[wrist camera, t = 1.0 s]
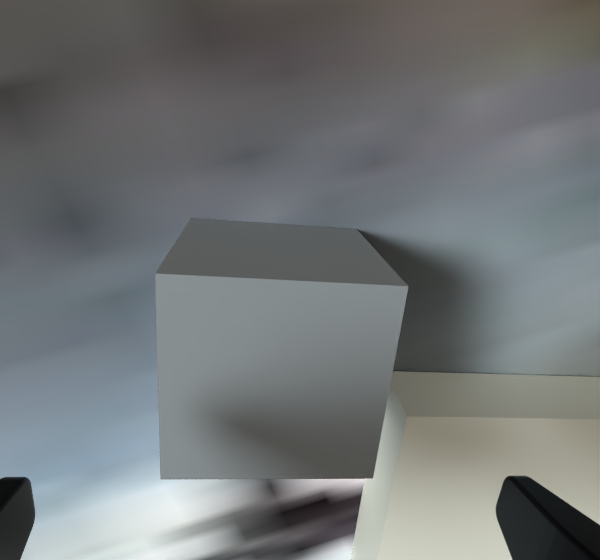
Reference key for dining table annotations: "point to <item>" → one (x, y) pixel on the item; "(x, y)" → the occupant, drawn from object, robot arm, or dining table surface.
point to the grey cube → (274, 351)
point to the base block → (474, 460)
